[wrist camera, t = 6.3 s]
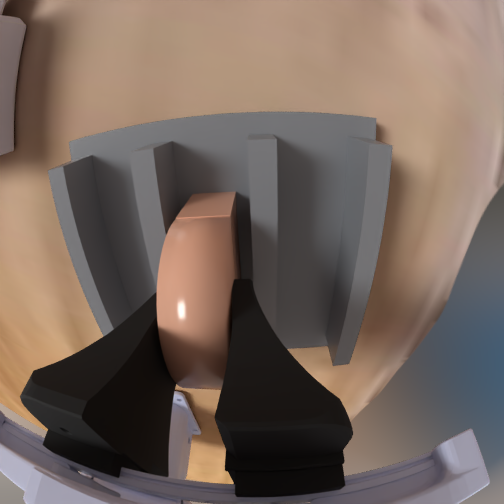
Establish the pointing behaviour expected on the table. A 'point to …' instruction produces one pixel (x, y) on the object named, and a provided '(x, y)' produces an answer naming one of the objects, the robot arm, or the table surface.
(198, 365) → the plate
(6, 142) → the charger
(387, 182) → the dish rack
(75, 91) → the table surface
